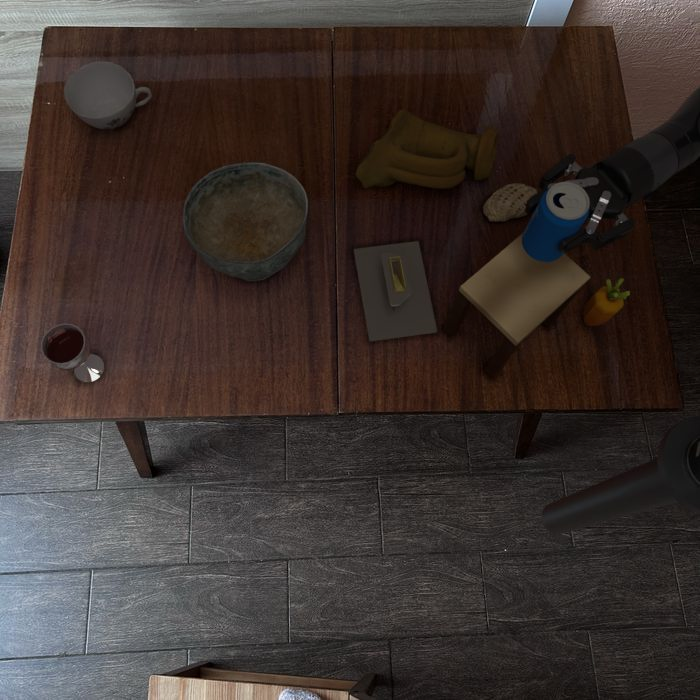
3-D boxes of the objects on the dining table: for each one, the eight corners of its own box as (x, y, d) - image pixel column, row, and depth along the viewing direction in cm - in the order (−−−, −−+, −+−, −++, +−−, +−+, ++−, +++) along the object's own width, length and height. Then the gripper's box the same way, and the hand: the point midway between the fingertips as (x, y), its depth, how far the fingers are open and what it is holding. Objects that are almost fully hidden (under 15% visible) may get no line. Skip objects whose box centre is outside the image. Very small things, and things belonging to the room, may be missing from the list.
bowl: (323, 223, 127) (322, 176, 113) (288, 316, 121) (282, 278, 107) (222, 193, 129) (209, 143, 114) (182, 283, 122) (163, 242, 108)
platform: (418, 241, 126) (422, 222, 120) (437, 332, 120) (443, 318, 114) (353, 249, 125) (354, 231, 119) (369, 341, 120) (371, 327, 113)
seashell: (508, 240, 130) (546, 199, 128) (506, 235, 124) (546, 191, 123) (477, 214, 132) (514, 173, 130) (474, 207, 126) (512, 164, 124)
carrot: (567, 315, 122) (598, 278, 108) (592, 306, 123) (627, 268, 109) (580, 340, 121) (613, 306, 106) (605, 331, 121) (642, 296, 107)
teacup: (79, 148, 131) (64, 120, 124) (77, 94, 135) (62, 64, 128) (160, 138, 132) (149, 110, 125) (155, 85, 136) (145, 55, 129)
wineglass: (110, 348, 118) (87, 322, 107) (108, 386, 116) (83, 364, 104) (70, 349, 118) (42, 323, 106) (66, 388, 115) (38, 365, 104)
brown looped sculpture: (388, 81, 129) (505, 101, 124) (387, 141, 139) (495, 162, 134) (354, 135, 118) (481, 159, 113) (355, 196, 128) (472, 221, 123)
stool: (554, 321, 122) (590, 277, 105) (491, 379, 118) (518, 342, 101) (505, 274, 125) (532, 224, 108) (442, 329, 121) (460, 286, 104)
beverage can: (523, 221, 103) (546, 174, 91) (567, 230, 102) (595, 184, 91) (517, 259, 101) (540, 216, 89) (561, 268, 100) (590, 226, 89)
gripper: (610, 118, 96) (516, 175, 93) (682, 192, 92) (587, 255, 89) (591, 151, 103) (504, 205, 100) (657, 221, 99) (569, 280, 96)
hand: (543, 228), depth 94 cm, fingers closed on beverage can, 6 cm apart
